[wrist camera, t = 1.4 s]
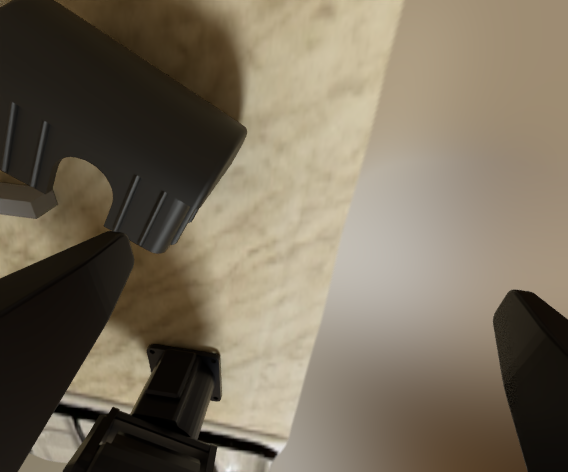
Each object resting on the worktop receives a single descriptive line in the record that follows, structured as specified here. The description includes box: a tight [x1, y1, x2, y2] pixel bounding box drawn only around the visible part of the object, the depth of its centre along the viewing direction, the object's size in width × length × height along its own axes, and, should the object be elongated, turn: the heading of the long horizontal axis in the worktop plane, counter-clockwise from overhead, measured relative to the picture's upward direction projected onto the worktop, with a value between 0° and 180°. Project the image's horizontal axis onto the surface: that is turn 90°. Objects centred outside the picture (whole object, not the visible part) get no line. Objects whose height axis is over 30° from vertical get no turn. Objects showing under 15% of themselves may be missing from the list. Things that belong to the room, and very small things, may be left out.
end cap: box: [0, 0, 247, 253], centre depth 17 cm, size 10×7×7 cm
